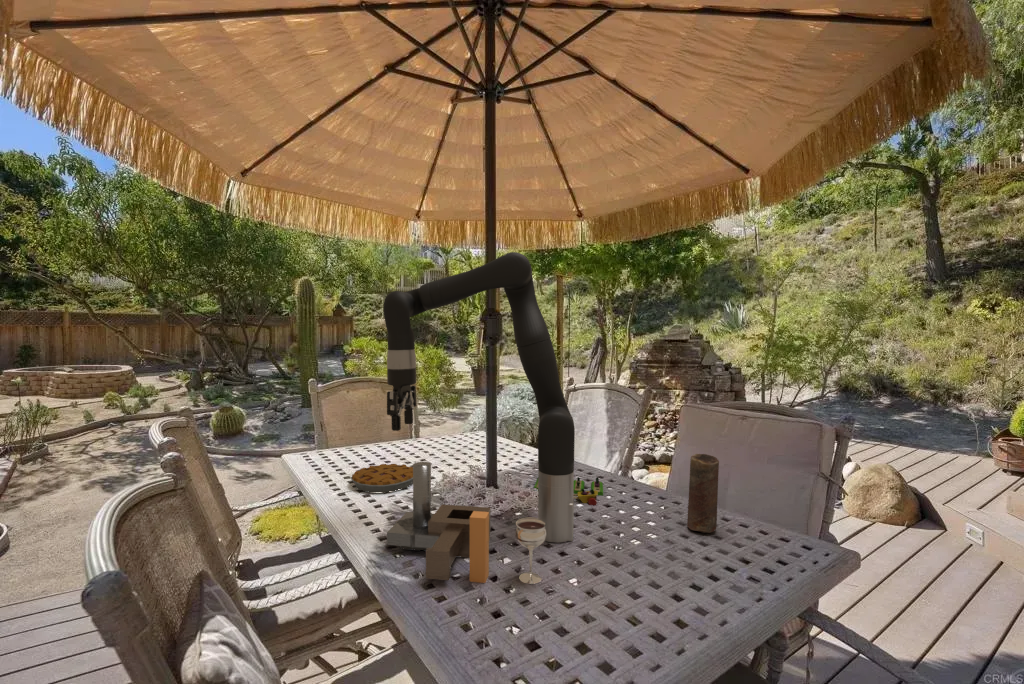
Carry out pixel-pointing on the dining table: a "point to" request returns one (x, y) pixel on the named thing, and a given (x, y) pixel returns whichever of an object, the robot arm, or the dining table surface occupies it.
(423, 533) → the metal peg stand
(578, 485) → the toy garden set
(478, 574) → the orange rectangular block
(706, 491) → the candle
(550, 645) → the dining table surface
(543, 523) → the wineglass
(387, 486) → the pie
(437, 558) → the bracket
